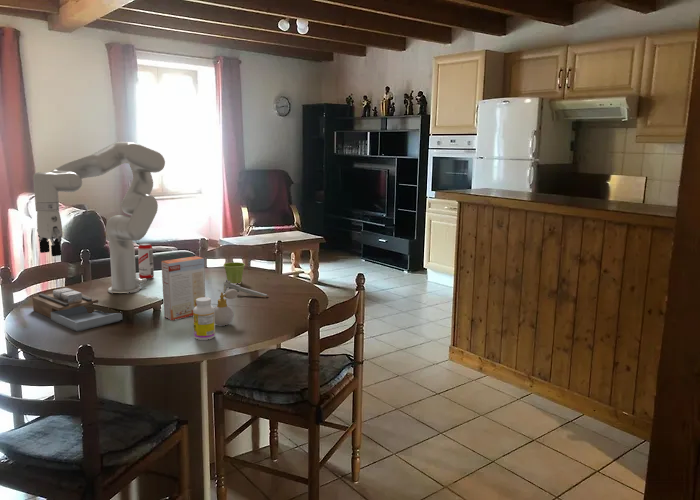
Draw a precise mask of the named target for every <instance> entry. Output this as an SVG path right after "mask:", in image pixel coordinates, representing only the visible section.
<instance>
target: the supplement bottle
mask: <svg viewBox="0 0 700 500" xmlns="http://www.w3.org/2000/svg"><path fill="white" fill-rule="evenodd" d="M196 304H197V306H196V307H195V308H194V309H193V316H192V317H193V337H194V339H195V338H196V340H197V339H198V341H209V340H211V339H213V338H215V336H216V324H215V312H214V308H215V307H214V306H213V305H212V298H211V297H208V296H205V297H201V298H197V299H196ZM208 339H209V340H208Z"/></svg>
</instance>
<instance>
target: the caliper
mask: <svg viewBox="0 0 700 500" xmlns="http://www.w3.org/2000/svg"><path fill="white" fill-rule="evenodd" d="M229 289H235V290H236V291H237V292H238V293H239V292H243V293H246V294H250V295H253V296H256V295H261V296H268V294H267V293H263V292H260V291H256V290H253V289H249V288H245V287H242V286H241V285H240V284H237V285H236V284H233V283H230V281H228V279H227V278H226V281H224V283H223V294H224V293H225V292H226V291H228V290H229Z"/></svg>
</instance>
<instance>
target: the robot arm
mask: <svg viewBox="0 0 700 500" xmlns="http://www.w3.org/2000/svg"><path fill="white" fill-rule="evenodd" d="M123 164H124V165H125V164H129V167H130V170H131V172H132V181H131V183H130V186H129V187H128V189H127V191H126V193H125V195H124V197H123V199H122V201H121V204H120V208H121V211H122V212H123V213H124V215H123V214H118V215H117V214H116V215H113V216H111V217H109V218H108V219H107V221H106V224H105V231H106V236H107V239H108V244H109V261H110V277H111V286H110V287H108V288H107V291H108V293H110V294H113V293H112V292H130V293H129V294H132V293H137V292H139V291H140V290H141V286H140V285H141V284H146V283H148V280H147V279H146V278H144V279H141V278H140V277H139V278H137V274H136V273H137V271H136V269H137V268H136V251H135V250H136V249H135V245H134V244H135V243H134V242H136V241H140V240H141V239H144V237H145V236H146V235H147V233H148V231H149V229H150V227H151V225H152V224H153V221H154V219H155V217H156V215H157V213H158V210H159V209H158V207H159V205H158V201H157V199H156V198H155V196H153V195H151V193H152V191H153V187H154V180H153V176H152V173H159V172H161V171H162V170H164V168H165V164H166V161H165V157H164V156H163V154H161V152H158V151H156V150H154V149H152V148H148V147H147V146H144V145H141V144H138V143H135V142H132V141H117V142H114V143H112V144H109V145H108V146H106V147H104V148H102V149H100V150H98V151H96V152H94V153H92V154H90V155H87V156H83V157H81V158H77V159H75V160H72V161H69V162H67V163H64V164H62V165H60V166H59V167H55V169H52V170H51V171H50V172H47V171H46V172H45V171H44V172H41V171H39V172H35V173H34V174H33V177H32V178H33V179H32V180H33V191H34V192H33V194H34V202H35V212H36V226H37V229H36V232H37V238H38V243H39V252H40V254H43V253H49V252H51V257H59V256H62V238H63V237H64V235H63V225H62V217H61V213H60V203H59V202H60V201H59V199H60V198H59V192H63V193H64V192H66V193H74V192H76V191H79V190H80V189H81V187H82V185H83V179H86V178H93V177H94V178H95V177H100V176H103V175H105V174H107V173H109V172H110V171H112V170H115V168H117V167H119V166H121V165H123ZM125 214H126V215H125ZM49 240H50V241H49ZM50 242H51V245H50ZM50 249H51V251H50Z"/></svg>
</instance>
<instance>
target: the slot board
mask: <svg viewBox="0 0 700 500" xmlns="http://www.w3.org/2000/svg"><path fill="white" fill-rule="evenodd" d="M31 300H32V309H33V311H34V312H36V313H38V314H40V315H42V316H45V317H47V318H49V319H51V312H53V311H61V310H66V309H70V308H75V307H80V306H84V305H89V304H93V303H98V304H99V299H97V298H94V297H92V296H88V295H86V294H83V293H82V301H80V302H76V303H71V304H68V303H66V302H63V301H60V300H58V299H55V298H53V293H49V294H45V293H38V296H33V297H32V299H31Z"/></svg>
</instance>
